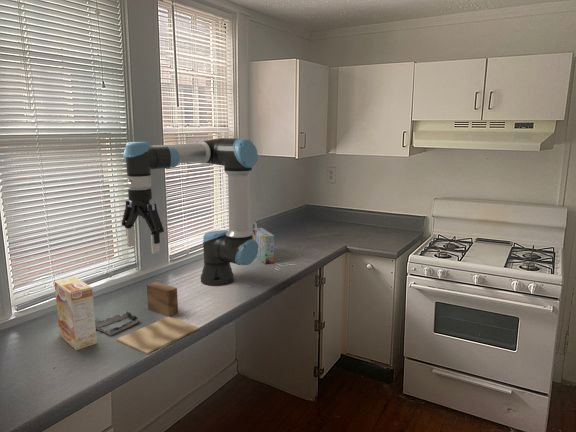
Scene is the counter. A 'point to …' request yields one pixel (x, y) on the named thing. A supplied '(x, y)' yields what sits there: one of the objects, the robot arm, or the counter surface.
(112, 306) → the counter surface
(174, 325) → the light wood board
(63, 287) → the coffeecake box
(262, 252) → the snack box
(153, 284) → the walnut slab
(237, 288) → the counter surface
